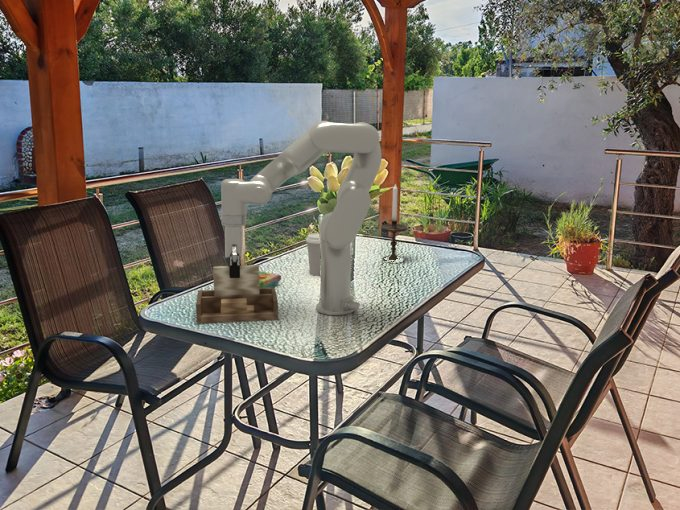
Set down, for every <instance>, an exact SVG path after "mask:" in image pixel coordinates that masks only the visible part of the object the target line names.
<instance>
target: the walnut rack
mask: <svg viewBox="0 0 680 510" xmlns="http://www.w3.org/2000/svg"><path fill="white" fill-rule="evenodd" d="M259 292H260V294H256V295H232V296H214V289H199V290H197V297H196V303H195V306H196V307H195V309H196V313H195V314H196V324H197V325H198V324H199V325H201V324H220V323H224V324H225V323H239V322H240V323H241V322H260V321H261V322H264V321H278V320H279V304H278V303H279V302H278V301H279V300H278V296H277V291H276V287H275V286H273V287H267V288H259ZM239 298H246V300H247V305H254V313H249V314H228V315H221V299H239Z"/></svg>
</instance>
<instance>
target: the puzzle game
mask: <svg viewBox="0 0 680 510" xmlns="http://www.w3.org/2000/svg"><path fill="white" fill-rule="evenodd" d="M281 279H282V275H279V274H277V273H275V274H274V273H271V272H270V273H269V272H265V271H260V270H259V288H267V287H275V286H277V285H278V284H279V283H280V281H281Z"/></svg>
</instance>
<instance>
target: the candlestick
mask: <svg viewBox="0 0 680 510" xmlns="http://www.w3.org/2000/svg"><path fill="white" fill-rule="evenodd" d="M397 180H398V178H397V177H395V179H394V181H393V182H394V186H393V187H392V209H391V210H392V211H391V212H392V213H391V214H392V215H391V219H389V221H390V222H391V223H386V224H382V225H381V226H380V230H382V231H384V232H390V233H391V234H392V236H391V237H392V239H391V241H390V242H389V243H390V246H391V248H390V250H391V254H390V255H387V256H383V257H382V259H383V260H384V261H387V260H385V259H384V258H386V257H388V256H390V257H389V260H396V259H398V258H397V256H398V255H396V250H397V249H398V248H397V247H396V246H397V245H398V242H397V241H396V238H397V237H396V234H397V233H401V232H406V231H408V225H404V224H399V223H398V222H399V221H400V219H397V218H398V193H399V192H398V187H397ZM391 262H392V261H391ZM393 262H394V261H393Z"/></svg>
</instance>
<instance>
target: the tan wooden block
mask: <svg viewBox="0 0 680 510" xmlns="http://www.w3.org/2000/svg"><path fill="white" fill-rule="evenodd" d="M249 313H254V305H247V300H246V298H239V299H221V315H228V314H249Z"/></svg>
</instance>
